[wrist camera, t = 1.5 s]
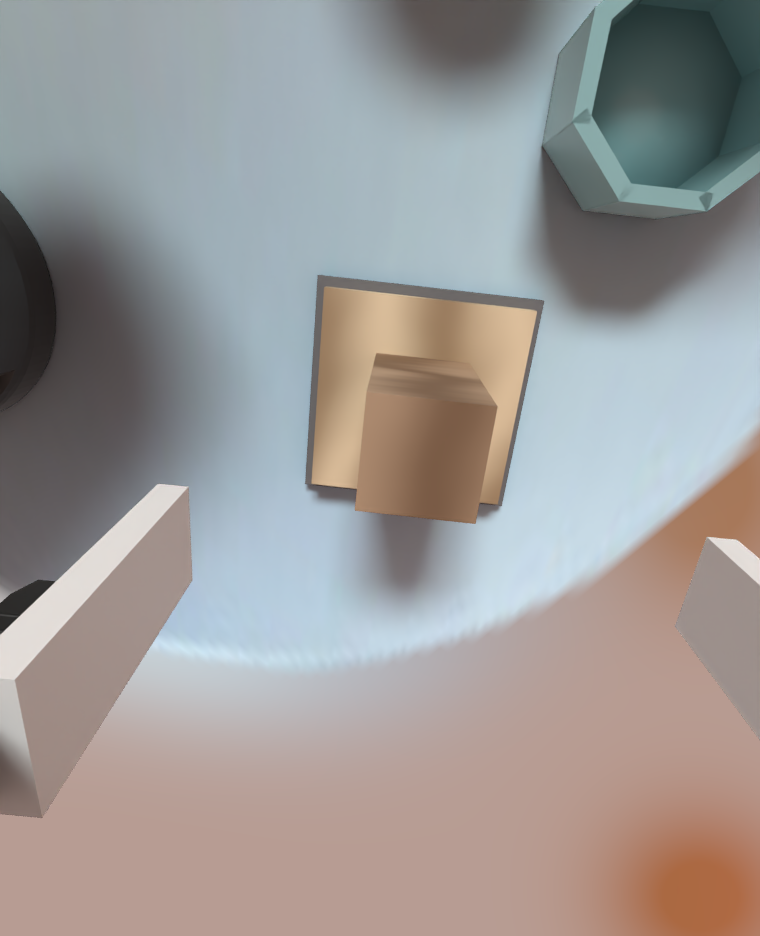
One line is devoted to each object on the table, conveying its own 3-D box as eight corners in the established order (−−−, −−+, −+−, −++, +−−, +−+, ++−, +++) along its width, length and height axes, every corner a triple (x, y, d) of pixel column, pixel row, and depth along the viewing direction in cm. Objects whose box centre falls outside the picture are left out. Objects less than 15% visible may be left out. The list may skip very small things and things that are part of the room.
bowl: (530, 205, 27) (557, 194, 23) (572, -19, 24) (612, -84, 20) (707, 225, 28) (769, 218, 23) (773, 5, 24) (861, -55, 20)
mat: (306, 480, 33) (305, 483, 33) (319, 275, 29) (317, 275, 29) (500, 501, 34) (501, 505, 33) (541, 300, 29) (544, 301, 29)
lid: (314, 477, 33) (279, 565, 23) (326, 286, 29) (291, 300, 19) (494, 497, 33) (532, 592, 23) (532, 309, 29) (595, 335, 19)
